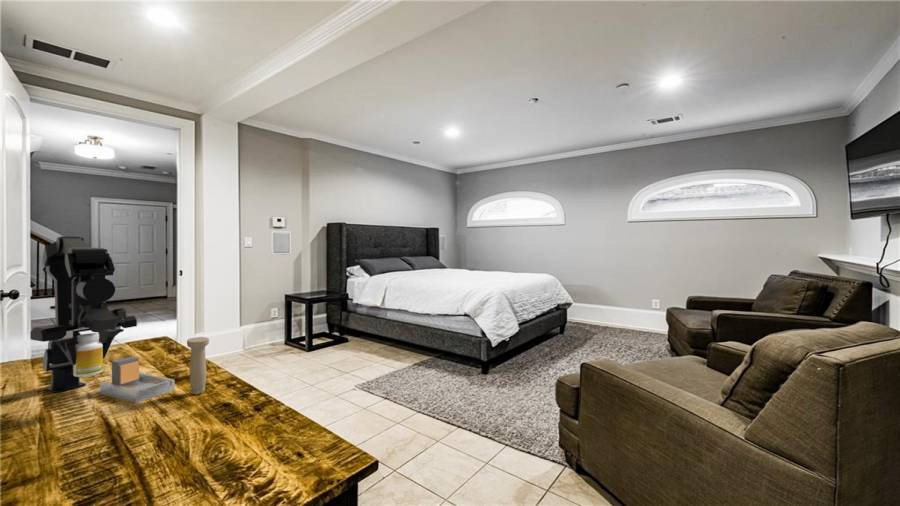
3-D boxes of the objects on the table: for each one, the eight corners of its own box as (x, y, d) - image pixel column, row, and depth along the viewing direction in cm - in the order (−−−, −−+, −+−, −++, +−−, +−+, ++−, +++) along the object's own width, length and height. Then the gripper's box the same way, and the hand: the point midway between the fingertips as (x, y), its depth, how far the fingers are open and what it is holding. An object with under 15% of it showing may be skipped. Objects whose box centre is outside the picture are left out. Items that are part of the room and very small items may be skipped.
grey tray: (99, 393, 105) (99, 363, 105) (139, 382, 114) (139, 354, 114) (136, 402, 99) (136, 370, 99) (174, 390, 108) (174, 360, 108)
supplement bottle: (108, 371, 96) (108, 333, 96) (81, 378, 91) (81, 338, 91) (94, 369, 98) (94, 331, 98) (67, 375, 93) (67, 336, 93)
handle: (191, 398, 102) (191, 343, 102) (184, 392, 106) (184, 339, 106) (211, 393, 106) (211, 339, 106) (203, 387, 110) (204, 336, 110)
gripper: (55, 306, 82) (56, 377, 83) (150, 296, 100) (150, 355, 100) (28, 303, 87) (29, 371, 87) (124, 294, 104) (124, 350, 104)
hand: (88, 361), depth 94 cm, fingers closed on supplement bottle, 5 cm apart
